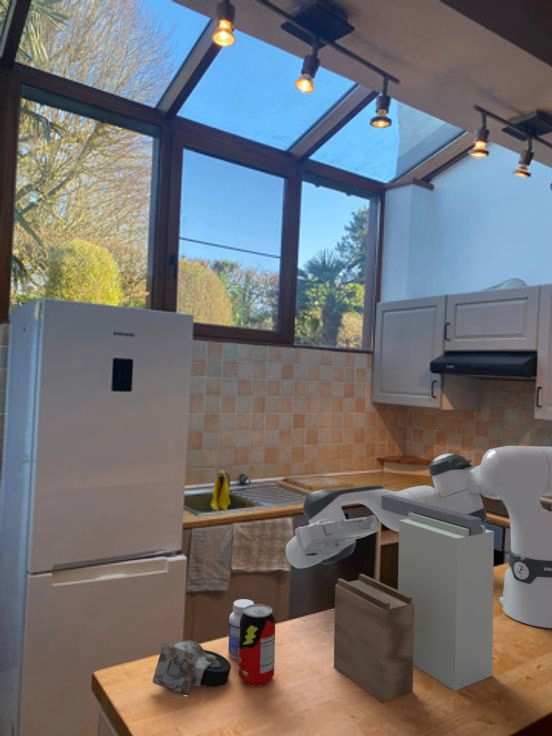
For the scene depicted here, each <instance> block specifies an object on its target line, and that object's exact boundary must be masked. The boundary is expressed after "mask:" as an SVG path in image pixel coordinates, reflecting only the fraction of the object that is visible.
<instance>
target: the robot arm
mask: <svg viewBox="0 0 552 736" xmlns="http://www.w3.org/2000/svg"><path fill="white" fill-rule="evenodd" d="M472 462H473V460H471V459H469V460H468V459H467V458H466V457H464V456H463V455H460V454H457V453H444V454H441V455H438V456H437V457H435V458H434V459H433V460H432V461H431V462H429V465H428V470H429V476H430V477H432V482H433V486H434V487H432V486H431V485H418V486H413V487H408V488H405V489H402V490H397V491H395V490H394V491H393V490H390V489H387V488H386V487H384V486H383V485H379V484H378V485H377V484H376V485H375V484H374V485H363V486H355V487H348V488H341V489H323V490H317V491H314V492H311V493H310V494H309V495H307V496H306V497H305V500H304V502H303V506H302V512H303V514H304V516H305V518H306V520H307V521H308V523H309V524H307V525H304V526H299V527H297V528H295V529H294V534H295V535H294V536H293V537H292V538H291V539H290V540H289V541H288V542H287V544H286V546H285V554H286V558H287V560H288V562H289V564H290V565H291V566H293V567H295V568H296V569H305V568H310V567H312V566H315V565H317V564H322V565H327V566H329V565H332V564H335V563H337V562H338V561H340V560H344V559H345V558H347V557H349V556H351V555H352V554H353V552H354V550H355V548H356V545H357V541H356V540H358V539H361V538H362V539H363V538H365V537H367V536H369V535H370V536H371V535H372V534H374V533H377V532H379V530H380V527H379V523H378V520H379V521H380V522H381V524H383V525H384V526H385V527H386V528H388V529H390V530H392V531H395V532H398V533H399V520H405V519H408V517H406V516H403V515H400V514H396V513H393V512H390V511H386V510H383V509H381V496H384V495H394V496H398V497H402V498H406V499H410V500H413V501H417V502H421V503H425V504H429V505H433V506H436V507H440V508H444V509H448V510H452V511H456V512H459V513H463V514H467V515H471V516H475V517H478V518H481V525H482V526H483V524H485V523H486V522H487V520H488V515H487V510H486V507H485V506H484V503H483V499H482V497H481V496H483V497H485V498H488V499H492V500H501V501H502V503H503V504H504V506H505V508H506V511H507V513H508V518H509V526H510V527H509V528H510V549H509V550H508V556H507V559H508V566H509V567H508V568H507V569H506V570H505V575H504V583H503V594H502V596H499V600H498V601H499V603H500V604H501V606H502V611H503V613H504V614H505V615H507V616H508V617H510V618H511V619H513V620H515V621H518V622H521V623H524V624H526V625H530V626H534V627H540V628H546V629H547V628H548V629H552V512H551V511H550V510H549V509H546V508H544V507H543V505H542V504H541V498H540V497H547V496H549V497H550V496H551V497H552V446H537V445H536V446H535V445H504V446H499V447H494V448H489V449H488V450H487V451H486V452H485V454H483V456H482V458H481V461H480V464H479V465H477V466H473V465H472V464H471V463H472ZM353 504H362V505H363V506H366V507H367V508H368V509H369V510H370V511H371V512H372V513H373V514H372V515H369V516H364V517H357V518H349V519H347V518H346V515H345V513H344V511H343V509H342V506H347V505H353Z"/></svg>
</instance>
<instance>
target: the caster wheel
mask: <svg viewBox="0 0 552 736" xmlns="http://www.w3.org/2000/svg"><path fill="white" fill-rule="evenodd" d="M231 670H232V665H231V661H229V660H228V659H227V658H226V657H225V656H223V655H221V654H220V653H217V652H214V651H211V650H207V649H204V647H203V646H202V645H201V644H200V643H199V642H198V641H195V640H190V639H188V640H183V641H180V642H178V643H175V644H174V645H171V644H169V643H167V642H163V644H162V647H161V649H160V654H159V657H158V660H157V665H156V666H155V671H154V675H153V679H152V683H153V684H155V685H157V686H158V687H161V688H164V689H166V690H168V691H170V692H173V693H174V694H177V693H178V694H177V695H179V694H182V695H188V696H189V692H190V689H191V685H192V686H197V687H201V686H205V687H209V688H210V687H211V688H218V687H222V686H224V685H226V684H227V683H228V680H229V677H230V673H231ZM182 695H181V696H182Z"/></svg>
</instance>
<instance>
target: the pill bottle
mask: <svg viewBox="0 0 552 736" xmlns="http://www.w3.org/2000/svg"><path fill="white" fill-rule="evenodd" d="M253 604H255V602H254V601H253V600H251V599H246V598H245V599H244V598H243V599H242V598H240V599H237V600H234V602H233V605H232V612H231V613H230V614H229V618H228V619H229V620H228V645H227V646H228V651H227V652H228V656H229V657H230V658H232V659H234V660H238V661H239V633H240V618H241V616H242V614H243V613H244V612H243V610H244V608H245V607H246V606H249V605H253Z"/></svg>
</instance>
